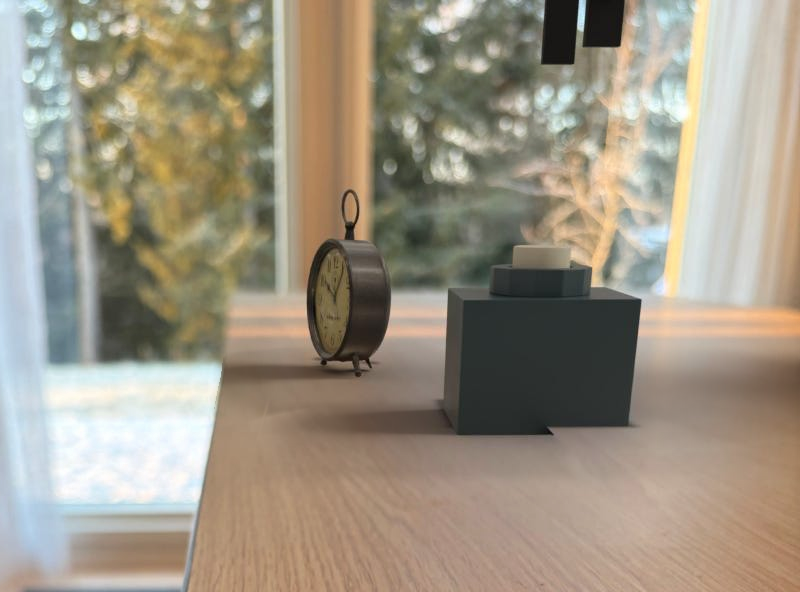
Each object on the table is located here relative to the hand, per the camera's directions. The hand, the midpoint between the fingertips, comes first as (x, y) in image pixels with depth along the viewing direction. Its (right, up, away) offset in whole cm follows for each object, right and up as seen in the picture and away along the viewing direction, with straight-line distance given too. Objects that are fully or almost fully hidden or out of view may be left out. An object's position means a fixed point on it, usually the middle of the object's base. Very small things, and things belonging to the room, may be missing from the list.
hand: (578, 56), depth 85 cm
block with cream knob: (-5, -30, -5) cm, 31 cm away
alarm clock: (-18, -21, +18) cm, 33 cm away
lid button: (-5, -21, -10) cm, 23 cm away
